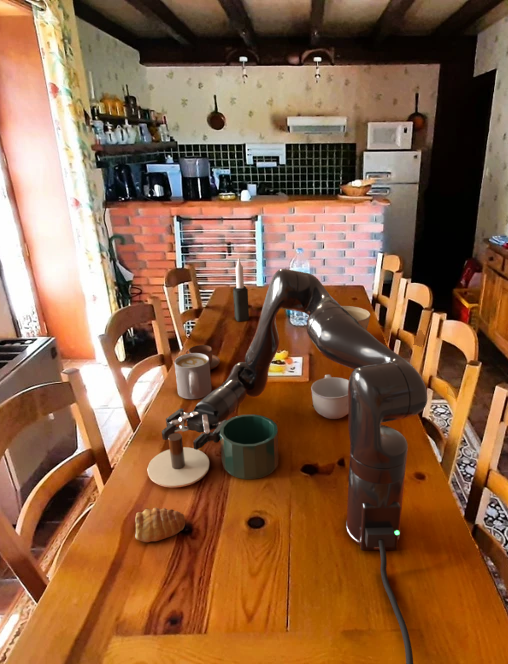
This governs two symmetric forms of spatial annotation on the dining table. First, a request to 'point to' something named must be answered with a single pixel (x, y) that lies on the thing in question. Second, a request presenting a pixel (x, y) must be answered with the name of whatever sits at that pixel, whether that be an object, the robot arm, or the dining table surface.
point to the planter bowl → (359, 315)
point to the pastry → (158, 524)
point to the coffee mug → (193, 375)
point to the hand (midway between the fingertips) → (178, 441)
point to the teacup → (330, 397)
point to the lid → (178, 464)
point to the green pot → (249, 446)
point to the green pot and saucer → (206, 351)
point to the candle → (240, 296)
